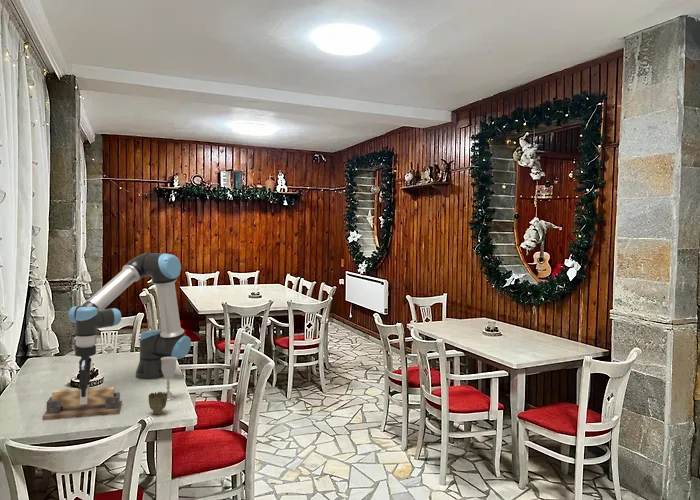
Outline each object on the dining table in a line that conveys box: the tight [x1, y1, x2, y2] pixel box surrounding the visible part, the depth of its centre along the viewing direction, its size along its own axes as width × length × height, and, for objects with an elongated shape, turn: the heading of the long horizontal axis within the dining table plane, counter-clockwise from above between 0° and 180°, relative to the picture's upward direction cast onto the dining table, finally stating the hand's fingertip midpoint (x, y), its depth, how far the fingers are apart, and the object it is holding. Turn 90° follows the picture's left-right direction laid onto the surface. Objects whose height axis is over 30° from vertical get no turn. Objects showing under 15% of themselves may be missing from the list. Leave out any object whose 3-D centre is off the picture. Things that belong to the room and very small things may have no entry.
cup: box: [148, 391, 168, 415], centre depth 204 cm, size 8×7×8 cm
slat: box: [51, 386, 115, 407], centre depth 202 cm, size 22×3×6 cm, turn 110°
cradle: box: [42, 391, 123, 421], centre depth 203 cm, size 27×12×6 cm, turn 110°
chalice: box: [161, 357, 178, 400], centre depth 222 cm, size 7×7×18 cm
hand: (84, 402), depth 202 cm, fingers closed on slat, 3 cm apart
